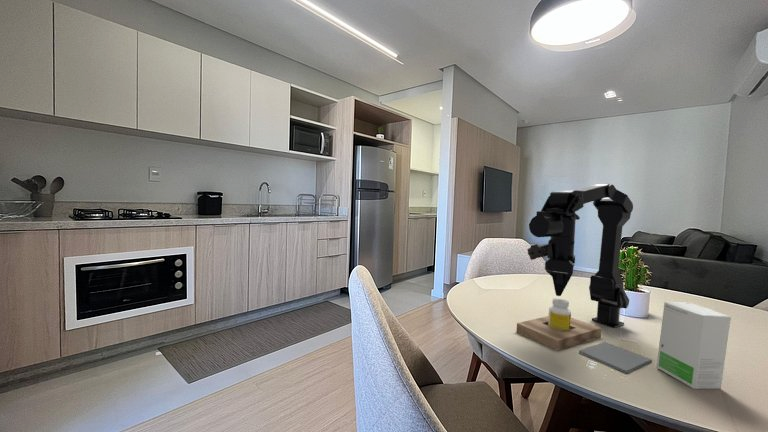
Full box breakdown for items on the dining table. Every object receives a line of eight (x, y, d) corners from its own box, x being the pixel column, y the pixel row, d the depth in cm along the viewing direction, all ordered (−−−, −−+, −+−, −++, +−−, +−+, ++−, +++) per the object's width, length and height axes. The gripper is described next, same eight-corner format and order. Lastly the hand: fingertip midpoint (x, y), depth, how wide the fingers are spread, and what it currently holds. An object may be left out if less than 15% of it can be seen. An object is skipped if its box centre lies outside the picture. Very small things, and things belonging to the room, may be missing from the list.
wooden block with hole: (559, 321, 96) (559, 313, 96) (600, 336, 85) (601, 328, 85) (516, 331, 87) (517, 323, 86) (557, 350, 76) (557, 340, 76)
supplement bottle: (572, 339, 83) (575, 304, 82) (551, 337, 84) (553, 302, 83) (565, 331, 88) (567, 298, 88) (544, 329, 89) (546, 296, 89)
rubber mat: (604, 343, 81) (605, 341, 81) (651, 361, 72) (651, 359, 72) (578, 352, 75) (579, 350, 75) (626, 373, 66) (626, 370, 66)
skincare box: (655, 367, 69) (660, 301, 69) (681, 367, 70) (687, 301, 69) (696, 390, 61) (702, 314, 60) (725, 390, 62) (732, 314, 61)
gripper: (534, 231, 96) (532, 280, 97) (524, 236, 80) (522, 294, 81) (576, 234, 90) (573, 286, 90) (574, 240, 74) (571, 303, 75)
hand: (559, 291), depth 84 cm, fingers open, 9 cm apart
